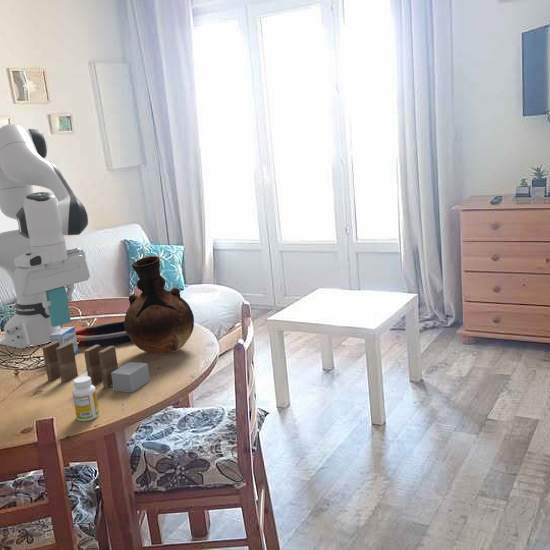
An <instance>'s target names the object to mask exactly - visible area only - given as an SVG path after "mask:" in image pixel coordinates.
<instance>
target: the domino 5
mask: <svg viewBox="0 0 550 550" xmlns="http://www.w3.org/2000/svg"><path fill="white" fill-rule="evenodd" d="M98 353H99V360H100V366H101V373H102V379H103V381H102V385H103V388H110V387H111V386H113V383H112V376H111V373H112V372H113V371H115V370H117V369H119V365H118V358H117V357H118V356H117V352H116V346H114V345H108V347H105V348H103V349H101V351H99V352H98Z"/></svg>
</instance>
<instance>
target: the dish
mask: <svg viewBox="0 0 550 550" xmlns="http://www.w3.org/2000/svg"><path fill="white" fill-rule="evenodd" d="M124 321H125V320H122V321H114V322H106V323H102V324H101V323H100V324H96V325H91V326H86V327H82V328H79V329H75V334H76V340H77V342H79V341H80V342H79V344H78V345H77V346H78V348H90V347H92V346H94V345H101V347H104V346H105V347H106V346H114V345H118V344H124V343H130V342H132V340H131V339H130V338H129V336H128V335H127V333H126V330H125V327H124Z"/></svg>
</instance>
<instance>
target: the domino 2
mask: <svg viewBox="0 0 550 550" xmlns="http://www.w3.org/2000/svg"><path fill="white" fill-rule="evenodd" d="M58 347H60V344H59V342H56V341H55V342H53V343H49V344H45V345H43V346H42V348H41V350H42V354H43V359H44V366H45V371H46V376H47V381H51V382H53V381H55V380H58V379H59V378H61V377H60V370H59V364H58V359H57V353H56V348H58ZM58 377H59V378H58Z"/></svg>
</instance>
